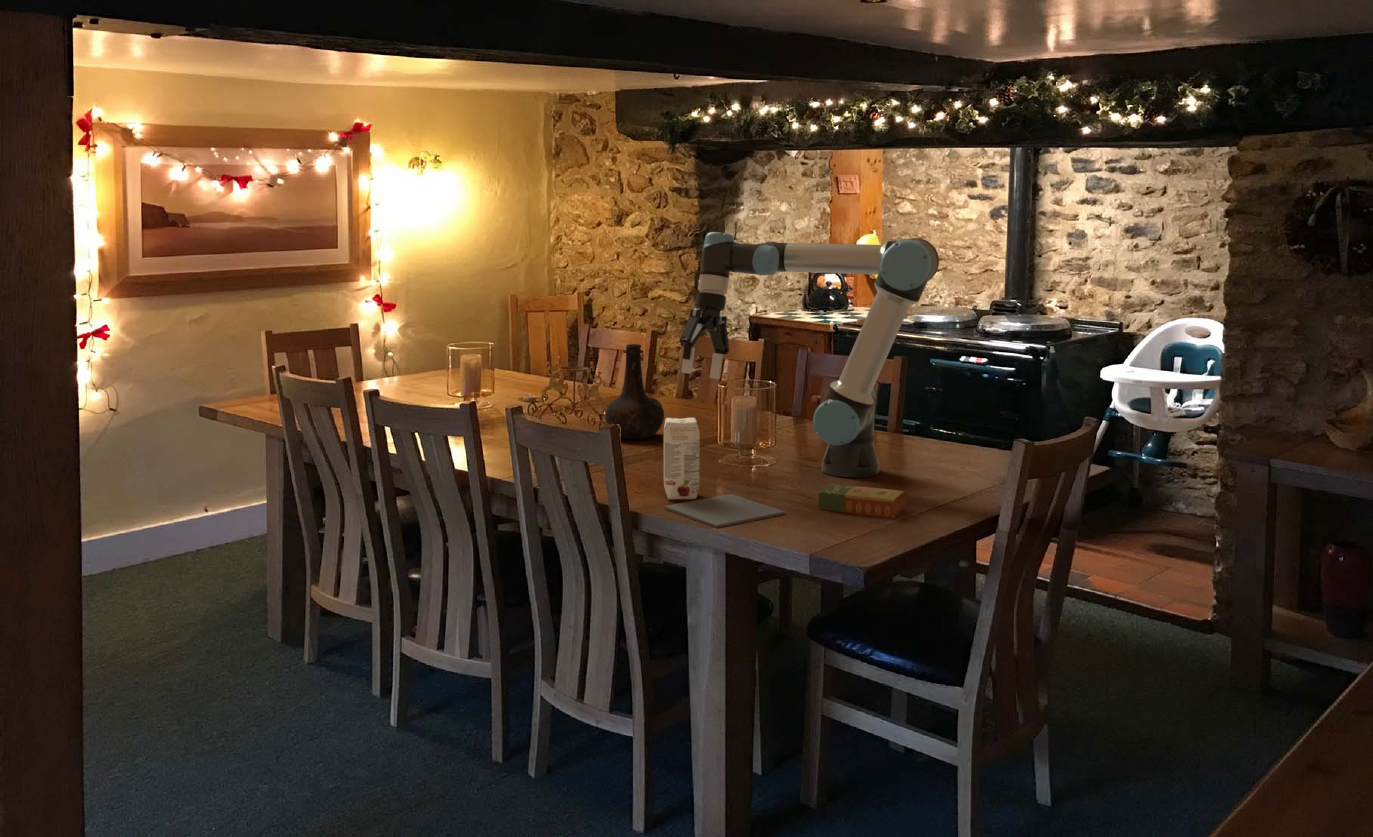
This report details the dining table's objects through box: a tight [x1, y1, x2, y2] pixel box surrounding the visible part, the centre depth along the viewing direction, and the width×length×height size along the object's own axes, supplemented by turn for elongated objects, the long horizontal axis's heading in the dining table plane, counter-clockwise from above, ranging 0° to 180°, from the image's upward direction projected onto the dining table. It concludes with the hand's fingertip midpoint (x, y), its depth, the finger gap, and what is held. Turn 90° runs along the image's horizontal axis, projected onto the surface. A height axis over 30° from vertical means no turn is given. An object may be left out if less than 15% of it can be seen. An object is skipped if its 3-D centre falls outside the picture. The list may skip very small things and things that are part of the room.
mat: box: [663, 493, 786, 529], centre depth 278 cm, size 20×20×1 cm
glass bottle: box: [604, 343, 665, 440], centre depth 360 cm, size 18×18×28 cm
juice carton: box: [662, 417, 701, 500], centre depth 290 cm, size 8×9×19 cm
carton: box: [817, 482, 906, 519], centre depth 281 cm, size 10×18×5 cm, turn 64°
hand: (700, 376), depth 307 cm, fingers open, 13 cm apart
